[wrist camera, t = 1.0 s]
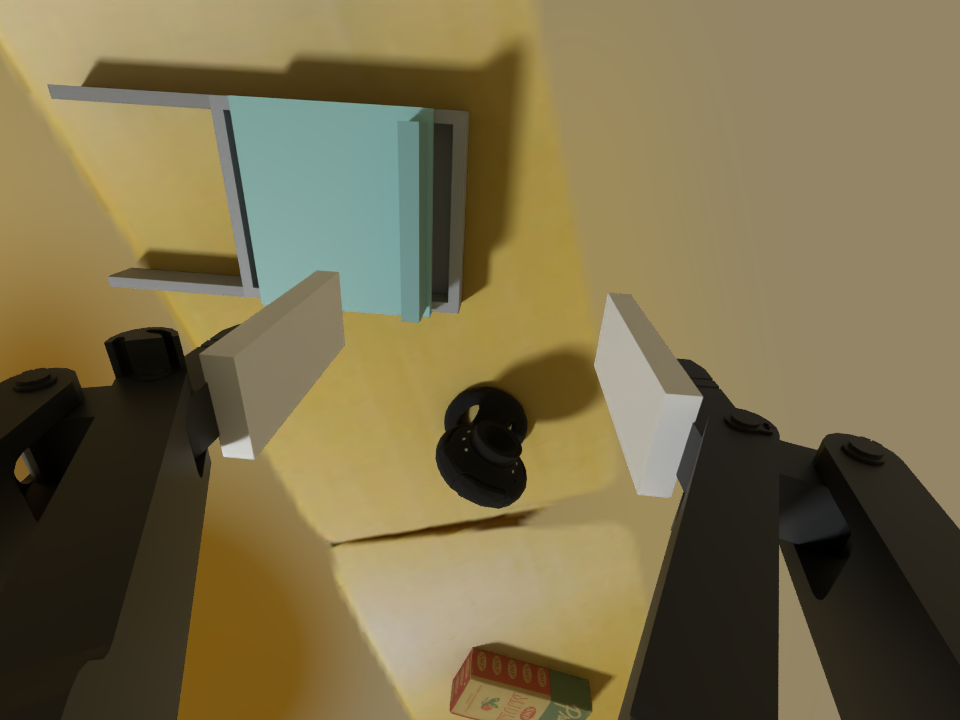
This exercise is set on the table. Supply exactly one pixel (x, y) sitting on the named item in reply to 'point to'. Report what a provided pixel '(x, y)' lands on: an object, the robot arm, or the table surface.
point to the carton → (516, 691)
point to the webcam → (484, 448)
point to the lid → (340, 198)
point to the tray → (446, 210)
